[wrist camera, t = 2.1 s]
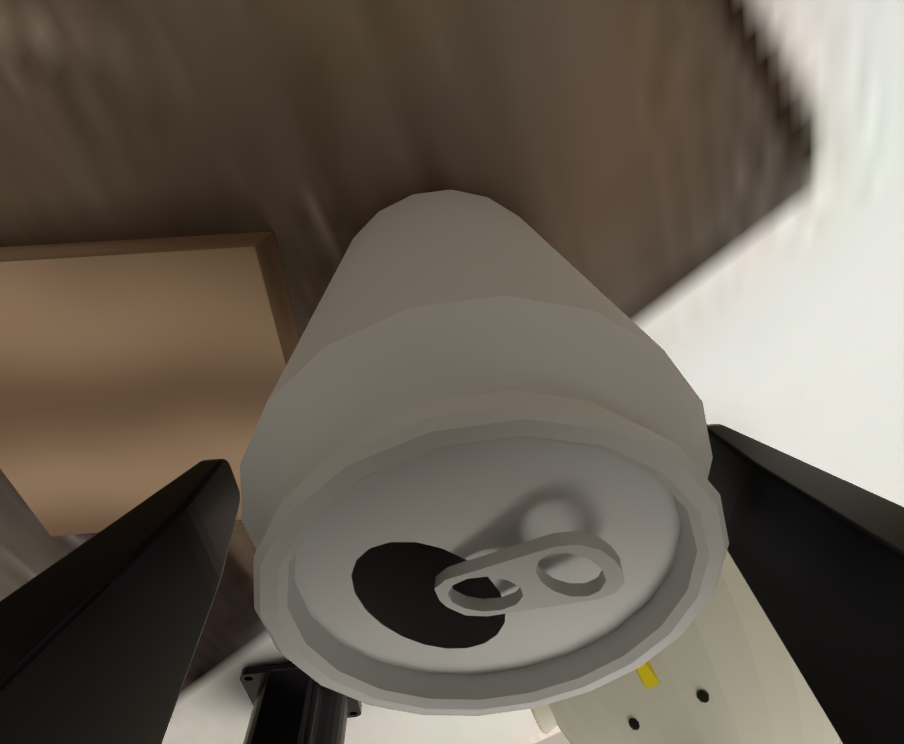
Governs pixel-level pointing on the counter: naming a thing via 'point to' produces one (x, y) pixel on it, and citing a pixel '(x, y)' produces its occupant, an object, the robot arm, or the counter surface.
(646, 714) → the kitchen timer
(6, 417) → the brown flat square block
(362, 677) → the can
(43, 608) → the robot arm
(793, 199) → the counter surface
